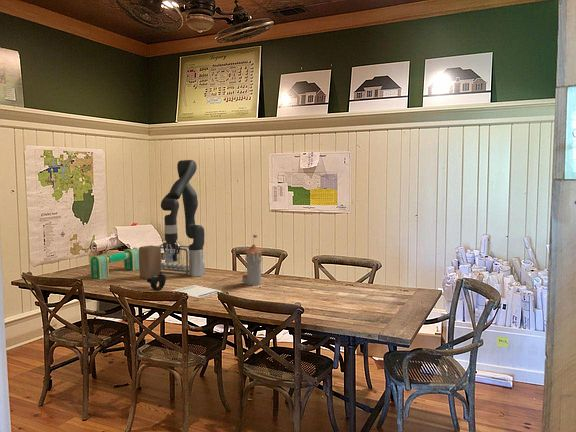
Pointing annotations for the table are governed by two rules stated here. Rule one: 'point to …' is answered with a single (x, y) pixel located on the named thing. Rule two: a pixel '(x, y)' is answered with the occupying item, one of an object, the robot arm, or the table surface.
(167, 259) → the cube
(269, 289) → the table surface
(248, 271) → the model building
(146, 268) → the block
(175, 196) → the robot arm
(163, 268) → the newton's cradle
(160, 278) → the controller
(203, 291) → the letter
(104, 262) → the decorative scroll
